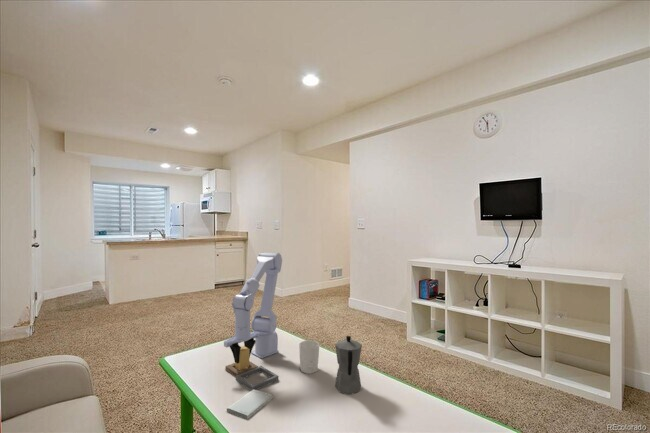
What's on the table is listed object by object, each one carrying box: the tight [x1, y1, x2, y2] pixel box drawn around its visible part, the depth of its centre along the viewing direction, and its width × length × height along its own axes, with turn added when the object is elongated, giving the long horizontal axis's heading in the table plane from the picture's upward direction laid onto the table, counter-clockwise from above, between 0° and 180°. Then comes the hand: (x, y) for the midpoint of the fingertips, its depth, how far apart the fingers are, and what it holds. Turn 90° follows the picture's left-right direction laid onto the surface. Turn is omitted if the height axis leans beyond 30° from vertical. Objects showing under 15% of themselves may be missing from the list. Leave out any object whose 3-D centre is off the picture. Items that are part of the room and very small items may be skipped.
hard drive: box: [226, 389, 273, 420], centre depth 99 cm, size 2×8×12 cm
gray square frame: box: [235, 365, 279, 391], centre depth 114 cm, size 11×11×2 cm
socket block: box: [224, 360, 259, 378], centre depth 121 cm, size 9×9×2 cm
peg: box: [234, 345, 250, 371], centre depth 122 cm, size 4×4×7 cm
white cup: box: [298, 340, 320, 374], centre depth 123 cm, size 8×8×10 cm
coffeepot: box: [334, 335, 363, 395], centre depth 109 cm, size 15×9×18 cm, turn 179°
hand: (242, 360), depth 122 cm, fingers closed on peg, 4 cm apart
